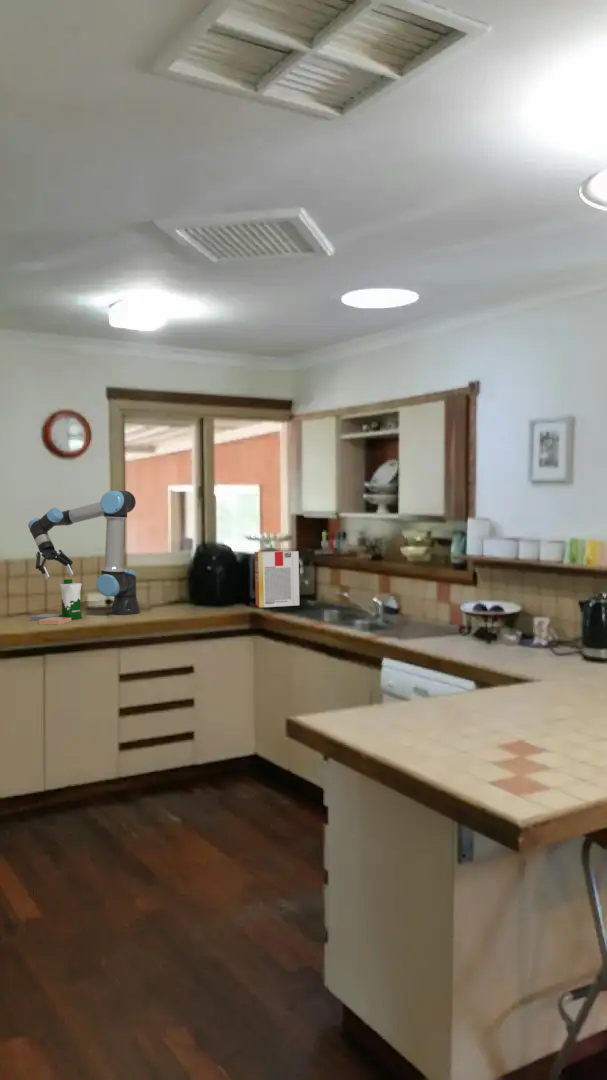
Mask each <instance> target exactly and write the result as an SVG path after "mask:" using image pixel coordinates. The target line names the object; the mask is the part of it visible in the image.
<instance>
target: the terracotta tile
mask: <svg viewBox="0 0 607 1080" xmlns="http://www.w3.org/2000/svg"><path fill="white" fill-rule="evenodd" d="M69 621H71V622H72V620H71V617H50V618H45V619H41V620H39V621H38V624H39V625H54V624H59V625H62V624H61V623H63V624H66V623H65V622H67V623H70V622H69Z"/></svg>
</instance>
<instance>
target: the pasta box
mask: <svg viewBox="0 0 607 1080" xmlns="http://www.w3.org/2000/svg"><path fill="white" fill-rule="evenodd" d="M299 563H300V559H299V550H275V551H274V550H271V551H254V578H255V579H254V581H255V582H254V583H255V585H254V586H255V606H256V605H257V606H258V607H257V606H256V607H257V608H259V609H260V608H275V607H291V606H292V607H293V606H300V568H299V567H300V565H299Z"/></svg>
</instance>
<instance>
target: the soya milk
mask: <svg viewBox="0 0 607 1080" xmlns="http://www.w3.org/2000/svg"><path fill="white" fill-rule="evenodd" d="M82 584H83V583H78V582H73V579H70V578H67V579H63V583H59V587H60V592H61V614H62V617H71V621H75V620H74V619H76V620H81V619H80V618H82V619H83V616H82V607H81V605H82V604H81V603H82V601H81V599H82V598H81V590H82V589H81V588H82Z"/></svg>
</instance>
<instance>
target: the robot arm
mask: <svg viewBox="0 0 607 1080" xmlns="http://www.w3.org/2000/svg"><path fill="white" fill-rule="evenodd" d="M135 506H136V497H135V495H134V494H133V493H132V492H131V491H128V490H108V491H107V492H105V493H104V494H103V495H102V497H101V499H100V501H98V502H95V503H91V504H87V505H84V506H79V507H75V508H72V509H66V510H63V511H61V510H60V508H57V507H53V508H51V509H49V510H48V511H47V512H46V513H45V514H44V515H43V516H42V517H41V518H34V519H30V521H29V522H28V523H27V525H28V526H27V527H28V529H29V532H30V533H31V535H32V537H33V539H34V542H35V544H36V546H37V548H38V551H37V552H36V554H35V557H36V562H35V569H36V570H38V571H40V572H41V574H42V575H43V576H44V578H45V579H46V581H48V580H49V579H50V574H49V572H48V570H47V568H46V566H45V564H46V561H52V560H54V561H57V562H58V563H59V564H62V565H63V566H65V569H66V571H67V573H68V575H69V577H70V578H72V577H73V576H74V572H73V567H72V565H73V563H74V562H73V561H72V559H70V558H69V557H68V556H67V555H66V554H64V552H63V551H62V550H61V549H59V550H56V549H55V546H54V543H53V542H52V539H51V537H50V535H49V533H48V532H49V531H51V530H52V529H53V528H54V527H59V526H71V525H73V524H76V523H81V522H83V521H87V520H93V519H96V518H99V517H104V518H105V519H106V527H105V528H106V531H105V549H104V566H103V567H102V568H101V570H100V573H101V574H100V576H99V577H98V578H97V580H96V588H97V590H98V592H99V593H100V594H101V596H102V595H103V596H104V597H110V598H111V597H112V598H113V601H112V605H111V609H110V613H112V614H111V615H134V614H139V613H141V607H140V605H139V602H138V601H139V600H138V598H137V573H136V570H135V569H124V568H123V567H122V564H123V545H124V544H123V543H124V527H125V525H124V523H125V520H126V519H127V518H128V513H130V512H131V511H133V510H134V509H135ZM41 557H42V558H43V560H42V562H41Z"/></svg>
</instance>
